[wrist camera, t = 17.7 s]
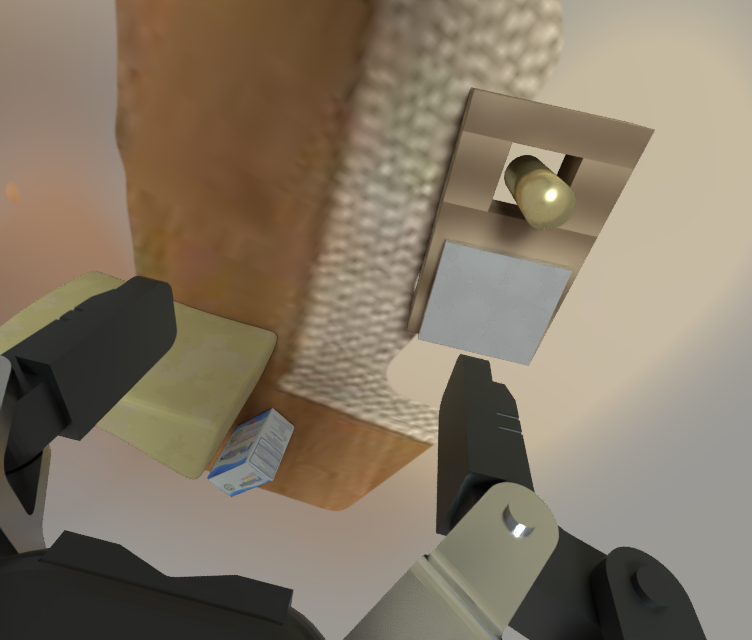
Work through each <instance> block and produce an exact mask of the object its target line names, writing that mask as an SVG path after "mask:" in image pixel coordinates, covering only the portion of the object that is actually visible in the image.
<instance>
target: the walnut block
mask: <svg viewBox="0 0 752 640" xmlns="http://www.w3.org/2000/svg"><path fill="white" fill-rule="evenodd" d="M653 133H654V130H653V129H650V128H647V127H643V126H640V125H636V124H633V123H629V122H625V121H620V120H616V119H611V118H607V117H602V116H597V115H593V114H589V113H584V112H579V111H575V110H571V109H566V108H562V107H557V106H552V105H548V104H543V103H539V102H534V101H530V100H525V99H521V98H516V97H512V96H507V95H503V94H498V93H494V92H489V91H485V90H480V89H476V88H471V91H470V94H469V98H468V102H467V105H466V109H465V112H464V116H463V120H462V123H461V127H460V131H459V134H458V138H457V141H456V145H455V149H454V152H453V156H452V159H451V163H450V167H449V170H448V174H447V178H446V181H445V185H444V188H443V192H442V196H441V199H440V203H439V207H438V210H437V214H436V217H435V221H434V225H433V228H432V232H431V236H430V239H429V243H428V246H427V250H426V254H425V257H424V261H423V264H422V268H421V272H420V275H419V279H418V283H417V286H416V290H415V293H414V297H413V301H412V304H411V308H410V314H409V320H408V327H407V331H410V332H414V333H419V330H420V326H421V323H422V319H423V316H424V312H425V309H426V306H427V302H428V299H429V295H430V292H431V288H432V285H433V281H434V278H435V274H436V271H437V267H438V264H439V260H440V257H441V254H442V250H443V247H444V243H445V240H446V239H449V240H453V241H458V242H462V243H466V244H471V245H475V246H479V247H484V248H488V249H492V250H496V251H501V252H505V253H509V254H514V255H518V256H522V257H526V258H531V259H535V260H539V261H544V262H548V263H552V264H557V265H561V266H565V267H569V269H570V270H571V271H572V273H571V275H570V277H569V279H568V282H567V284H566V286H565V288H564V290H563V292H562V295H561V297H560V299H559V301H558V303H557V305H556V308H555V310H554V312H553V314H552V316H551V318H550V321H549V323H548V325H547V327H546V329H545V331H544V333H543V336H542V338H541V340H540V342H539V344H538V346H537V349H538V347H539V345H540V343H541V341H542V339H543V338H544V336H545V334H546V332H547V330H548V328H549V327H550V325H551V323H552V321H553V319H554V317H555V315H556V313H557V312H558V310H559V308H560V306H561V304H562V302H563V300H564V298H565V297H566V295H567V293H568V291H569V289H570V287H571V285H572V284H573V282H574V280H575V278H576V276H577V274H578V272H579V271H580V269H581V267H582V265H583V263H584V261H585V259H586V257H587V256H588V254H589V252H590V250H591V248H592V246H593V244H594V243H595V240H596V239H597V237H598V235H599V233H600V231H601V230H602V228H603V226H604V224H605V222H606V220H607V218H608V216H609V215H610V213H611V211H612V209H613V207H614V205H615V203H616V201H617V199H618V198H619V196H620V194H621V192H622V190H623V189H624V186H625V185H626V183H627V181H628V179H629V177H630V175H631V173H632V172H633V170H634V168H635V166H636V164H637V162H638V161H639V159H640V157H641V155H642V153H643V151H644V149H645V147H646V146H647V144H648V142H649V140H650V138H651V136H652V134H653ZM512 142H515V143H519V144H523V145H528V146H532V147H537V148H541V149H545V150H550V151H554V152H559V153H564V154H566V155H565V157H564V160H563V162H562V164H561V167H560V169H559V171H558V174H557V176H558V177H559V178H560V179H561V180H562V181H563V182H565V183H566V184H567V185H568V186H569V187H570V188H571V189H572V190H573V192H574V194H575V197H576V207H575V210H574V212H573V214H572V216H571V217H570V219H569V220H568V221H567V222H566V223H564V224H563V225H561V226H560V227H558V228H555V229H552V230H539V229H536V228H534V227H533V226H531V225H530V224H529V223H528V222H527V220H526V218H525V216H524V215H523V213H522V211H521V210H520V208H519V206H518V205H515V204H510V203H506V202H501V201H497V200H493V196H494V193H495V190H496V187H497V184H498V181H499V178H500V176H501V173H502V170H503V167H504V164H505V162H506V159H507V156H508V153H509V150H510V147H511V144H512ZM537 349H536V351H537ZM536 351H535V353H536ZM535 353H534V354H535ZM533 356H534V355H533ZM532 358H533V357H532ZM531 360H532V359H531Z"/></svg>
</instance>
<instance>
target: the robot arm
mask: <svg viewBox="0 0 752 640" xmlns="http://www.w3.org/2000/svg"><path fill="white" fill-rule="evenodd" d="M176 335H177V324H176V317H175V309H174V302H173V295H172V289H171V286H170V285H169V284H168V283H167V282H163V281H159V280H155V279H150V278H146V277H142V276H135V277H133V278H131V279H130V280H128V281H127V282H125V283H124V284H122V285H121V286H119V287H118V288H116V289H112V290H109V291H106V292H103V293H100V294H97V295H94V296H91V297H90V298H88V299H87V300H85V301H84V302H82V303H81V304H79V305H77V306H76V307H74V310H70V311H68V312H66V313H65V314H63V315H62V316H60V319H59V320H57V319H56V320H54V321H52V322H51V323H49V324H48V325H46V326H45V327H43V328H41V329H40V330H38V331H37V332H35V333H34V334H32V335H31V336H29V337H27V338H26V339H24V340H23V341H21V342H20V343H18V344H16V345H15V346H13V347H12V348H10V349H9V350H7V351H6V352H4V353H2V354H1V355H0V640H325V638H324V637H323V635H322V634H321V633H320V632H319V631H318V629H317V628H316V627H315V626H314V625H313V624H312V623H311V622H310V621H309V620H308V619H307V618H306V617H305V616H304V615H303V614H301V613H300V612H298V611H297V610H295V609H294V608H292V607H291V603H292V596H293V590H292V589H288V588H284V587H281V586H276V585H273V584H269V583H265V582H261V581H257V580H254V579H249V578H246V577H242V576H238V575H223V576H195V577H169V576H166V575H164V574H162V573H161V572H159V571H158V570H156V569H155V568H154V567H152V566H151V565H149V564H148V563H146V562H145V561H143V560H142V559H140V558H139V557H137V556H136V555H134V554H133V553H132V552H130V551H129V550H127V549H126V548H124V547H122V546H121V545H120V544H116V543H112V542H108V541H104V540H100V539H96V538H93V537H89V536H85V535H81V534H77V533H74V532H70V531H65V530H64V532H63V533H62V534H61V535H60V537H59V538H58V539H57V540H56V541H55V543H54V544H53V545H52V546H51V547H50V548H46V546H45V541H44V537H43V528H42V521H43V513H44V505H45V497H46V489H47V481H48V474H49V466H50V458H51V449H50V446H49V443H50V442H51V441H52V440H53V439H54V438H55V437H57V436H63V437H66V438H70V439H74V440H78V441H80V440H81V439H82V438H83V437H84V436H85V435H86V434H87V433H88V432H89V431H90V430H91V429H92V428H93V427H94V426H95V425H96V424H97V423H98V422H99V421H100V420H101V419H102V418H103V417H104V416H105V415H106V414H107V413H108V412H109V411H110V410H111V409H112V408H113V407H114V406H115V405H116V404H117V403H118V402H119V401H120V400H121V399H122V398H123V397H124V396H125V395H126V394H127V393H128V392H129V391H130V390H131V389H132V388H133V387H134V386H135V385H136V384H137V383H138V382H139V381H140V380H141V378H142V377H143V376H144V375H145V374H146V373H147V372H148V371H149V370H150V369H151V368H152V367H153V366H154V365H155V364H156V363H157V362H158V361H159V360H160V359H161V358H162V357H163V356H164V355H165V354H166V353H167V352H168V351H169V350H170V349H171V347H172V346H173V344H174V342H175V339H176ZM518 418H519V416H518V411H517V406H516V401H515V399H514V398H513V396H512V395H511V393H510V392H509V390H508V389H507V387H506V386H505V385H504V384H500V383H497V382H493V381H492V375H491V369H490V363H489V361H487V360H483V359H479V358H475V357H470V356H467V355H462V354H460V355H459V357H458V359H457V361H456V364H455V366H454V369H453V371H452V374H451V377H450V379H449V381H448V384H447V387H446V389H445V392H444V394H443V397H442V401H441V405H440V411H439V431H438V474H437V519H436V533H437V534H441V535H445V536H446V537H445V538H444V539H443V540H442V542H440V544H439V545H438V546H437V547H436V548H435V549H434V550H433V551H432V552H431V553H430V554H429V555H424V556H422V557H421V558H420V559H418V560H417V561H416V562H415V563H414V564H413V565H412V566H411V567H410V568H409V570H408V571H407V572H406V573H405V574H404V575H403V576H402V577H401V578H400V579H399V580H398V581H397V582H396V583H395V585H394V586H393V587H392V588H391V589H390V590H389V591H388V592H387V593H386V594H385V595H384V596H383V597H382V598H381V600H380V601H379V602H378V603H377V604H376V605H375V606H374V607H373V608H372V609H371V610H370V612H368V614H367V615H366V616H365V617H364V618H363V619H362V620H361V621H360V622H359V623H358V624H357V625H356V626H355V627H354V629H353V630H352V631H351V632H350V633H349V634H348V635H347V636H346V637H345V638H344V639H343V640H502V638H501V637H502V634H503V632H504V630H505V629H506V627H507V625H508V626H510V627H511V628H513V629H514V630H516V631H517V632H519V633H520V634H522V635H523V636H525V637H526V638H528V639H529V640H707V639H706V637H705V634H704V632H703V630H702V627H701V625H700V622H699V620H698V617H697V615H696V613H695V610H694V608H693V605H692V603H691V601H690V599H689V597H688V595H687V593H686V592H685V590H684V588H683V587H682V585H681V584H680V583H679V581H678V580H677V579H676V578H675V577H674V575H673V574H672V573H671V572H670V571H669V570H668V569H667V568H666V567H665V566H664V565H663V564H661V563H660V562H659V561H658V560H656V559H655V558H653V557H652V556H650V555H648V554H647V553H644V552H643V551H641V550H638V549H635V548H631V547H619V548H616V549H614V550H613V551H611V552H610V553H609V554H608V555H606V554H604V553H602V552H600V551H599V550H597V549H595V548H593V547H592V546H590V545H588V544H586V543H584V542H583V541H581V540H579V539H577V538H576V537H574V536H572V535H571V534H569V533H567V532H566V531H564V530H563V529H562V528H561V527H559V526H558V525H557V522H556V519H555V517H554V515H553V513H552V512H551V510H550V509H549V507H548V505H547V504H546V503H545V502H544V501H543V500H542V499H541V498H540V497H539V496H538V495H537V494H535V492H534V488H533V483H532V478H531V473H530V468H529V464H528V459H527V454H526V449H525V445H524V439H523V435H521V432H522V430H521V425H520V421H519V420H518Z"/></svg>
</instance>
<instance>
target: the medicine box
mask: <svg viewBox="0 0 752 640" xmlns="http://www.w3.org/2000/svg"><path fill="white" fill-rule="evenodd" d="M293 430H294V426H293V425H292V424H291V423H290V422H289V421H287V420H286V419H285V418H284V417H283V416H282V415H281V414H279V413H278V412H277V411H276V410H275V409H274V408H271V409H270V410H268V411H266V412H264V413H262V414H260V415H258V416H256V417H254V418H252V419H251V420H249V421H247V422H245V423H243V424H241V425H239V426H237V427H236V429H235V431H234V432H233V434H232V436H231V438H230V439H229V441H228V443H227V444H226V446H225V448H224V450H223V451H222V453H221V455H220V457H219V458H218V460H217V462H216V463H215V465H214V467H213V469H212V470H211V472H210V474H209V476H208V480H209V481H210V482H212V483H213V484H214V485H216V486H217V487H218V488H219V489H221V490H222V491H224V492H225V493H226V494H228V495H230V496H231V497H232V496H234V495H237V494H240V493H242V492H245V491H247V490H250V489H252V488H255V487H257V486H260V485H262V484H265V483H267V482H270V481H273V479H274V476H275V474H276V472H277V469H278V467H279V464H280V462H281V460H282V457H283V455H284V452H285V450H286V447H287V445H288V442H289V440H290V438H291V435H292V433H293Z"/></svg>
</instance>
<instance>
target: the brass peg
mask: <svg viewBox="0 0 752 640" xmlns="http://www.w3.org/2000/svg"><path fill="white" fill-rule="evenodd" d="M504 180H505V184H506V186H507V187H508V189H509V191H510V193H511V194H512V196H513V198H514V199H515V201H516V203H517V205H518V206H519V208H520V210H521V211H522V213H523V215H524V216H525V218H526V220H527V222H528V223H529V224H530V225H531V226H533V227H534V228H536V229H539V230H552V229H555V228H558V227H560V226H561V225H563V224H564V223H566V222H567V221H568V220H569V219H570V217H571V216H572V214H573V212H574V210H575V207H576V197H575V194H574V192H573V190H572V189H571V188H570V187H569V186H568V185H567V184H566V183H565V182H563V181H562V180H561V179H560V178H559V177H558V176H557V175H556V174H554V173H553V172H552V171H551V170H550V169H549V168H548V167H546V166H545V165H544V164H543V163H542V162H541V161H540V160H539V159H537V158H536V157H534V156H531V155H523V156H520V157H517V158H516V159H514V160H513V161H512V162H511V163H510V164H509V165H508V167H507V169H506V171H505V176H504Z"/></svg>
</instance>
